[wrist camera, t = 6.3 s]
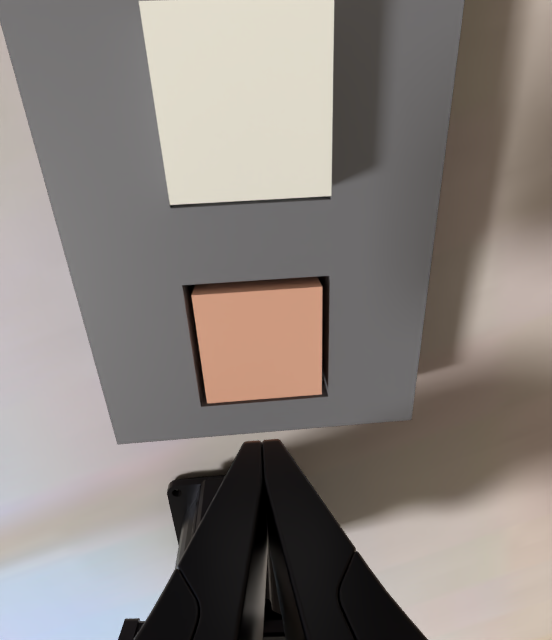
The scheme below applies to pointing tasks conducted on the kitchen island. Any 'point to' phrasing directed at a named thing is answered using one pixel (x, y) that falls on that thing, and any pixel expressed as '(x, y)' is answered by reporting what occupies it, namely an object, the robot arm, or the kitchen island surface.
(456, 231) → the kitchen island surface
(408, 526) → the kitchen island surface
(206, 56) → the cream button
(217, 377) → the terracotta button
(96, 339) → the button panel
